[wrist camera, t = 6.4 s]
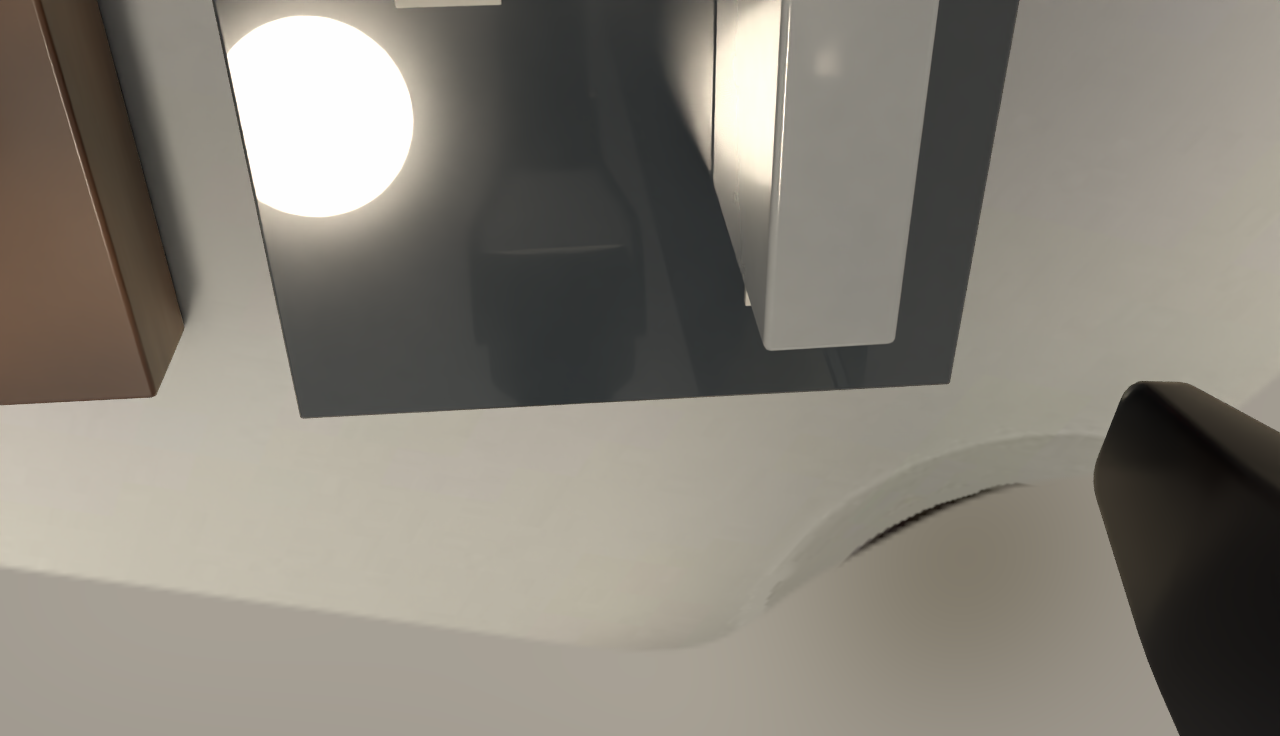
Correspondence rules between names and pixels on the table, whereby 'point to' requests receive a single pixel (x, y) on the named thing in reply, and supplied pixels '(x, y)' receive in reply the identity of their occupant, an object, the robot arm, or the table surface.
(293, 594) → the table surface
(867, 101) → the grey and red block
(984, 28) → the dark grey flat block
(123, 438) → the table surface
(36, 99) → the button block
